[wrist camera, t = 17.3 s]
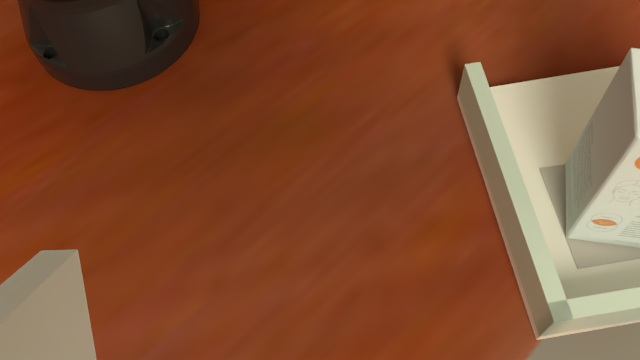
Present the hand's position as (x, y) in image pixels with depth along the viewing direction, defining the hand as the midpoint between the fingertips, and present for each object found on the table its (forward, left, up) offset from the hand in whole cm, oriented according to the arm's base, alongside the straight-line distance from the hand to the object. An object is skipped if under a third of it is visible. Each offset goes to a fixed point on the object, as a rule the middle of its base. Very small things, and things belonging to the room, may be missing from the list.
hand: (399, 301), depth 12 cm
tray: (-14, +21, -29) cm, 38 cm away
